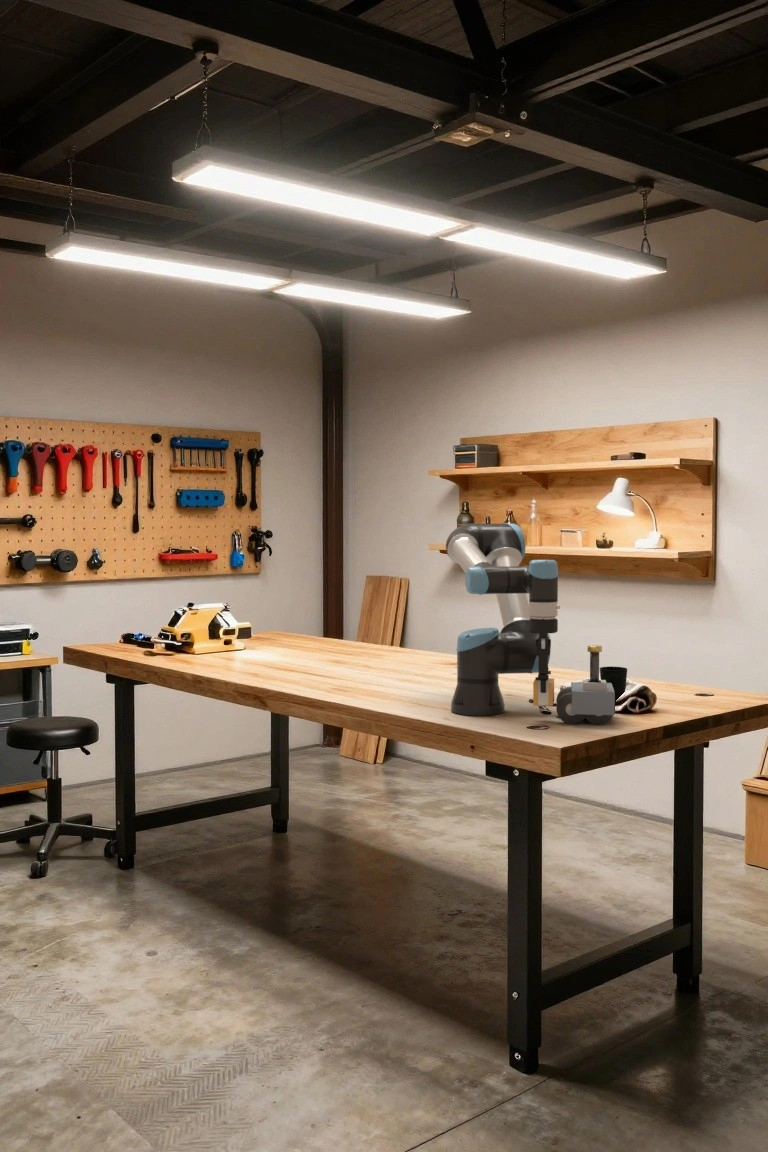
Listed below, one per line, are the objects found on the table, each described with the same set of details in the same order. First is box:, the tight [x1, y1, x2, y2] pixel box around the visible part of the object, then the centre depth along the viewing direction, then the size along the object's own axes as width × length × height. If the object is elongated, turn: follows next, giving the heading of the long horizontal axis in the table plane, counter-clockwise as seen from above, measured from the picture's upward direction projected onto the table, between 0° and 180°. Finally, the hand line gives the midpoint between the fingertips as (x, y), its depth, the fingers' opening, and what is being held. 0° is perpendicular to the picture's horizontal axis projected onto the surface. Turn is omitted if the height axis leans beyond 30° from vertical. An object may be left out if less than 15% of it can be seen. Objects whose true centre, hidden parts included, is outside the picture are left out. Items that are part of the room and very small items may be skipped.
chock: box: [532, 677, 555, 707], centre depth 274 cm, size 5×9×6 cm, turn 168°
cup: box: [599, 666, 628, 704], centre depth 292 cm, size 8×8×12 cm
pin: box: [586, 644, 603, 683], centre depth 274 cm, size 4×4×11 cm
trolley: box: [555, 679, 616, 726], centre depth 278 cm, size 15×16×11 cm
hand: (543, 701), depth 274 cm, fingers closed on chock, 9 cm apart
